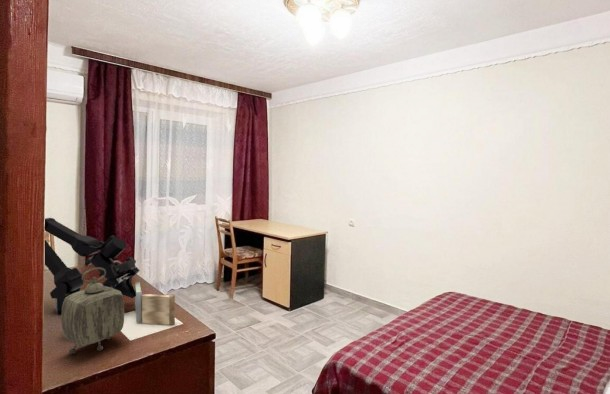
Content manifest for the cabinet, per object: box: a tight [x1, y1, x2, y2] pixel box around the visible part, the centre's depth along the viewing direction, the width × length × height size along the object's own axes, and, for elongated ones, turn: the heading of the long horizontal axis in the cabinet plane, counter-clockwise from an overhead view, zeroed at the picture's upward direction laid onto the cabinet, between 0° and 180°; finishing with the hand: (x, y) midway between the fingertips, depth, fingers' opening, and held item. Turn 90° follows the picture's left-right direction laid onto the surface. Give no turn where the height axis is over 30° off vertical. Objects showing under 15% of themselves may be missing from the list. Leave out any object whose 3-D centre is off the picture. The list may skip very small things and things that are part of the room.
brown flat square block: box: [141, 293, 176, 326], centre depth 120 cm, size 12×2×11 cm, turn 86°
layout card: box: [120, 309, 184, 341], centre depth 122 cm, size 18×23×1 cm
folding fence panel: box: [134, 281, 143, 323], centre depth 126 cm, size 14×2×10 cm, turn 29°
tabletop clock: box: [60, 267, 125, 355], centre depth 102 cm, size 14×9×25 cm, turn 150°
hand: (134, 296), depth 128 cm, fingers closed
